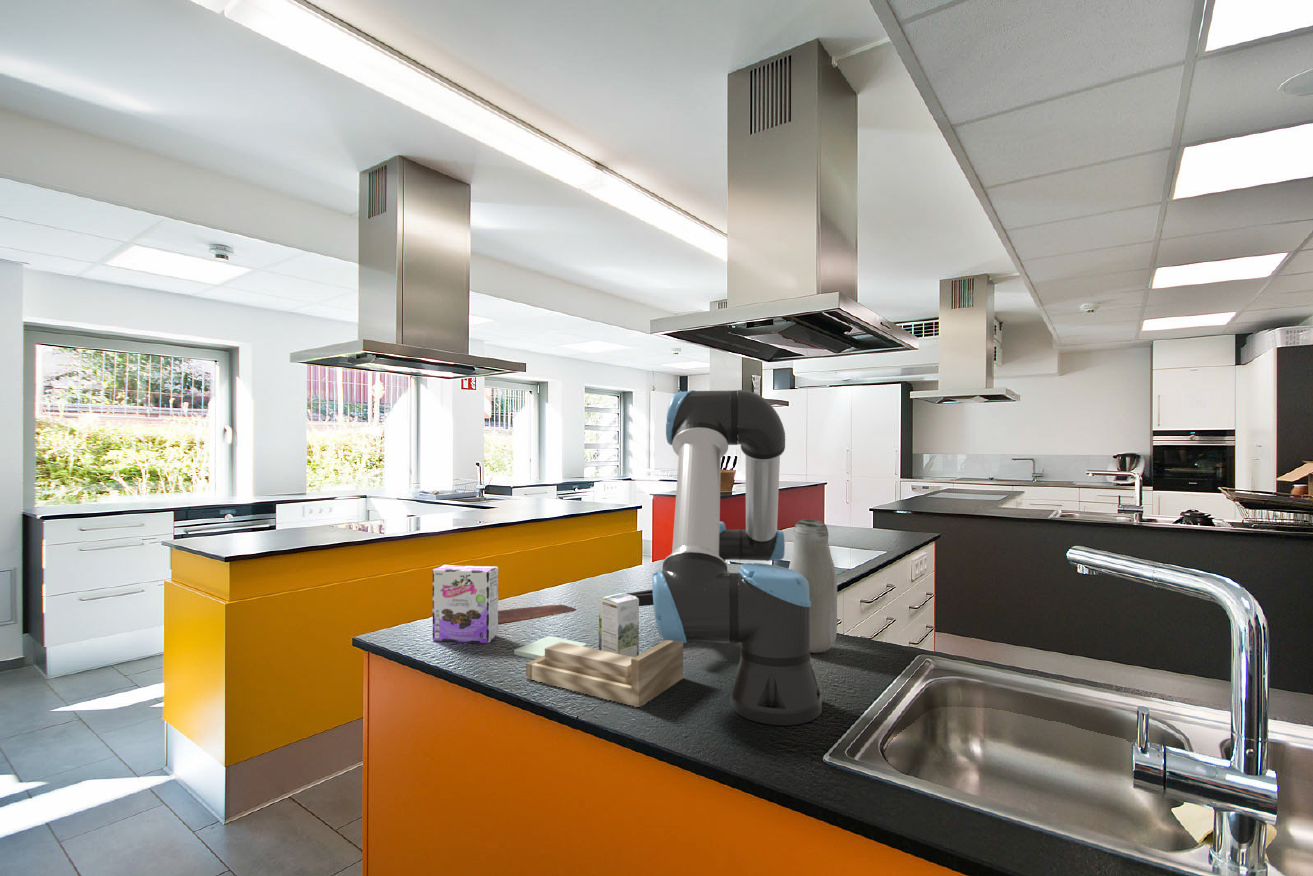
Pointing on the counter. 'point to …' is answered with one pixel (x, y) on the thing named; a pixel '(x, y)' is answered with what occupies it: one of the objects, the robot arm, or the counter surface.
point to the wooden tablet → (531, 612)
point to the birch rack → (647, 682)
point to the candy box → (465, 603)
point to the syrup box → (619, 624)
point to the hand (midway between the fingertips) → (644, 613)
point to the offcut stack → (589, 662)
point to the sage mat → (542, 647)
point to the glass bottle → (817, 580)
